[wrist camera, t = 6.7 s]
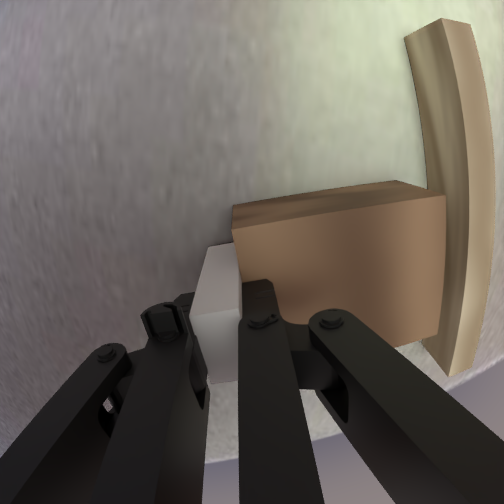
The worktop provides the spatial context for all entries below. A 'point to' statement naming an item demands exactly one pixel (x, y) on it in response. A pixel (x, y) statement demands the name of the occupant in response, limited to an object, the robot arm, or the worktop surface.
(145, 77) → the worktop surface
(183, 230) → the worktop surface
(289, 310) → the walnut block
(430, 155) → the birch board
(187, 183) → the worktop surface
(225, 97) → the worktop surface
